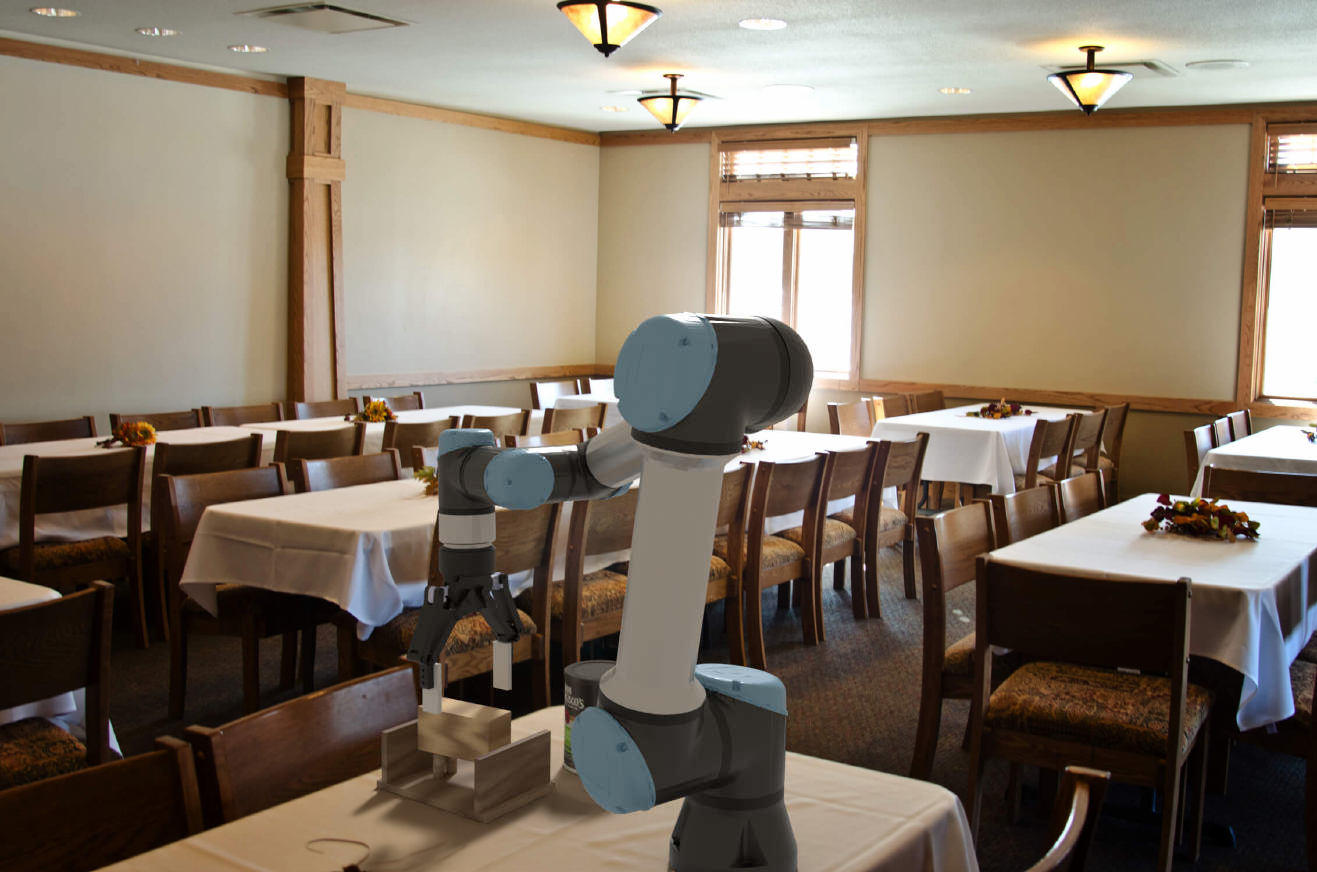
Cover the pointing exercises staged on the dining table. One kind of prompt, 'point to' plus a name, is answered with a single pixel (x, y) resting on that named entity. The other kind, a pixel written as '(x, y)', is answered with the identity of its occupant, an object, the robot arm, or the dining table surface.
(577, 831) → the dining table surface
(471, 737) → the beam
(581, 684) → the coffee can
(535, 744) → the peg frame
